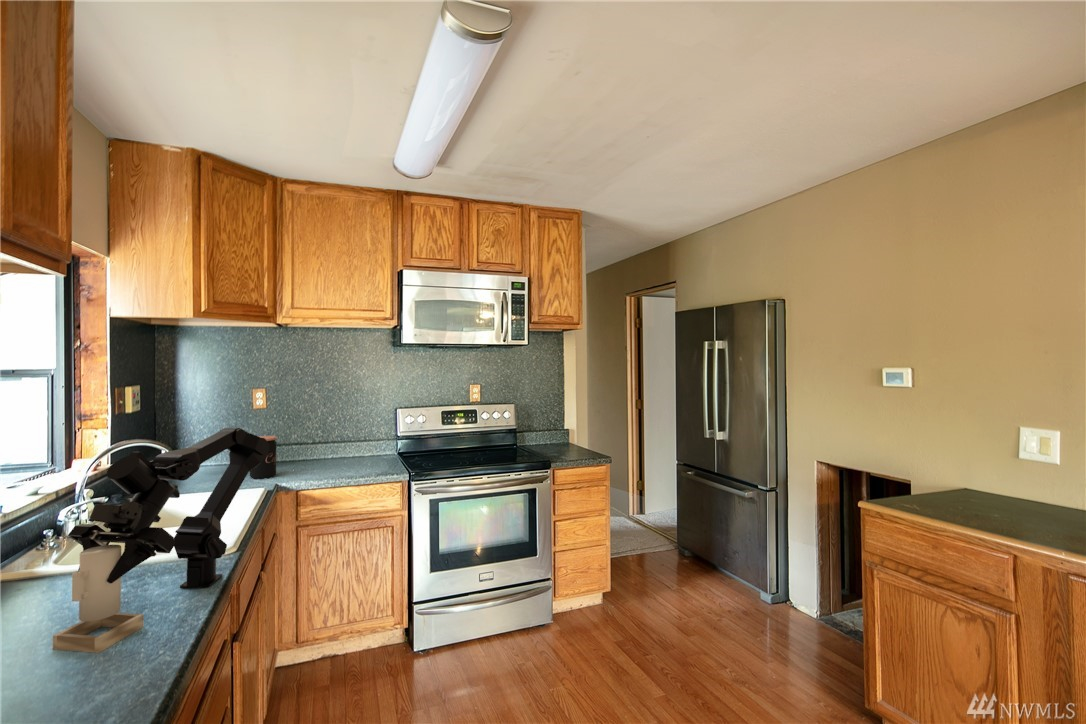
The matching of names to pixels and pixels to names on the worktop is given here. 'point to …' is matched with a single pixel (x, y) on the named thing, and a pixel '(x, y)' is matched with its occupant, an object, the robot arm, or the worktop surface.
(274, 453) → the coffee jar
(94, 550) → the jug
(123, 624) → the holder
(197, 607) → the worktop surface
